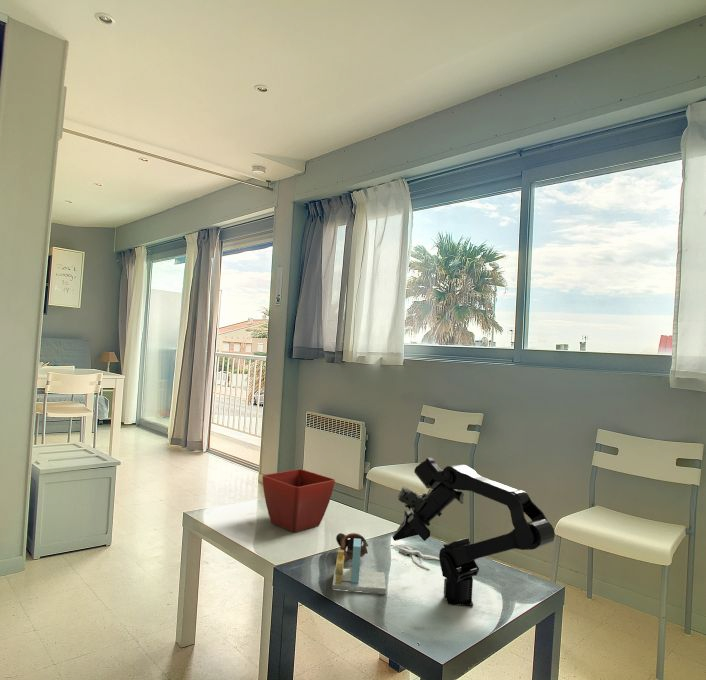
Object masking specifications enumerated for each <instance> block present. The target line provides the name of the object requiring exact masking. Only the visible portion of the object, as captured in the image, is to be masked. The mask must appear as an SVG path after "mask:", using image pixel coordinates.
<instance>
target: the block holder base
mask: <svg viewBox="0 0 706 680" xmlns="http://www.w3.org/2000/svg"><path fill="white" fill-rule="evenodd" d="M337 552H338V553H337V556H336V564H335V568H334V572H333V577H332V578H333V579H332V588H331V589H340V590H348V591H362V592H369V593H368V594H372V593H377V594H376V595H386V594H387V587H386V575H385V572H381V571H370V570H369V571H368V570H367V571H366V570H359V583H353V582H351V581H342V575H343V569H344V568H345V566H344V564H345V562H344V550H341V549H338V551H337Z"/></svg>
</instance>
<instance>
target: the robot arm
mask: <svg viewBox="0 0 706 680" xmlns="http://www.w3.org/2000/svg"><path fill="white" fill-rule="evenodd" d="M414 468H415V469H414V474H415V476H416V477H418V479H419V480H420V481H421V483H422V484H423V486H424V487H425V488H426V489H432V490H430V492H428V493H423V494H422V495H420V494H418V493H417V492H415V491H413V490H411V489H409V488H408V487H406V486H402V488H401V490H400V492H399V494H398V495H397V498H398V501H400V502H401V503H402V504H403V503H404V504H403V505H404V507H405V508H407V509H408V511H406V510H404V511H403V521H402V522H401V524H400V526H399V527H398V528H397V530H396V531H395V533H394V534H393V536H392V539H393V541H395V542H396V541H401V540H403V539H408V538H411V537H415V536H419V537H420V539H422V541H427V540H428V539H429V538H430V537H431V529H430V527H429V526H430V525H431V521H432V520H434V519H435V518H436V517H437V516H438V517H440V516H441V515H443V513H442V512H443V511H444V510H445V509H446V508H447V507H449V506H450V504H452V503H453V502H454V501H455V500H456V501H457V502H459V503H460V504H461V505H463V504H464V496H465V494H464V492H463V491H468V492H471V493H472V492H473V493H475V494H477V495H480V496H482V497H485V498H487V499H489V500H492V501H494V502H498V503H499V504H502V505H505V506H506V507H507V508H508V510H509V512H510V516H511V517H510V518H511V523H512V524H511V525H512V526H513V529H511V531H509V532H508V533H505V534H502V535H498V536H494V537H491V538H488V539H484V540H481V541H478V542H470V537H466V538H465V537H464V538H462V539H457V540H454V541H451V542H448V543H443V544H442V546H443V547H442V548H441V549H439V554H438V558H439V560H440V561H439V564H440V570H441V573H442V575H441V576H442V577H444V581H443V597H444V598H445V600H446V602H447V604H448V605H455V606H467V607H474V602H473V585H474V584H473V583H474V578H473V577H474V576H478V575H479V574H478V573H479V571H480V567H479V566H478V564H477V562H476V561H477V560H478V559H480V558H484V557H489V556H492V555H495V554H499V553H503V552H508V551H511V550H521V551H529V550H530V551H531V550H532V551H533V550H536V549H539V548H542V547H544V546H547V545H551V544H552V543H553V542H554V540H555V537H556V533H555V529H554V527H553V525H552V524H551V523H550V522H549V520H548V519H547V517H546V515H545V514H544V512H543V511H542V510H541V509H540V508H539V507H538V506H537V505H536V504H535V502H533V501H532V499H531V497H530V495H529V494H528V493H527V492H526V491H524V490H523V489H517V488H514V487H511V486H509V485H506V484H503V483H500V482H498V481H495V480H492V479H490V478H487V477H484V476H482V475H480V474H478V473H477V472H476V470H475V469H473V468H471V467H470V466H468V465H466V464H463V463H460V464H453V465H447V466H445V467H444V468H443V470H442V468H440V466H439V465H438V464H437V463H436V460H434V458H433V457H426V458H425V460H424V461H422V462H420V463H419V464H418V465H416V467H414ZM525 515H526V516H527V517H528V518H529V519H530V520H531V521H527V519H526V516H525Z"/></svg>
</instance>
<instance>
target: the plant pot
mask: <svg viewBox="0 0 706 680" xmlns="http://www.w3.org/2000/svg"><path fill="white" fill-rule="evenodd" d="M335 483H336V479H334V478H331V477H328V476H325V475H321V474H318V473H315V472H312V471H309V470H305V469H292V470H286V471H281V472H273V473H266V474H262V488H263V493H264V500H265V505H266V509H267V513H268V516H269V519H270V522H271V524H274V525H275V526H278V527H280V528H283V529H284V530H286V531H289V532H292V533H297V532H302V531H305V530H308V529H312V528H315V527H319V526H320V525H321V523H322V522H323V518H324V517H325V513H326V512H327V509H328V507H329V504H330V501H331V498H332V495H333V494H332V493H333V491H334V488H335Z"/></svg>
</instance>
